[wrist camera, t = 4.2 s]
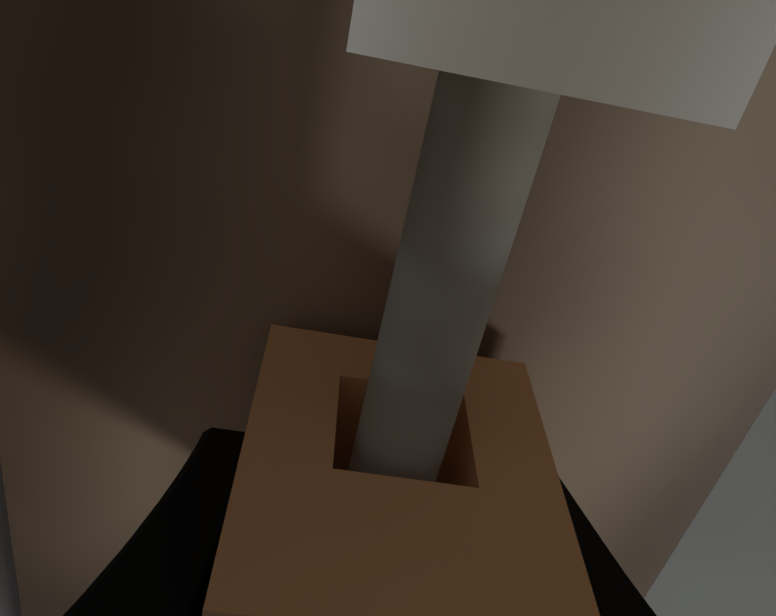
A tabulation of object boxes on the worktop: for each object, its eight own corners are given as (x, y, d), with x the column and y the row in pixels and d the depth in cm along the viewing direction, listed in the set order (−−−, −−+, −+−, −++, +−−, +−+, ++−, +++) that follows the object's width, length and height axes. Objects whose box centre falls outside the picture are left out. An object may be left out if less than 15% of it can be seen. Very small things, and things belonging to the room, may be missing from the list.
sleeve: (524, 363, 11) (611, 654, 7) (462, 532, 13) (499, 832, 9) (270, 324, 10) (202, 610, 6) (248, 505, 13) (185, 808, 8)
